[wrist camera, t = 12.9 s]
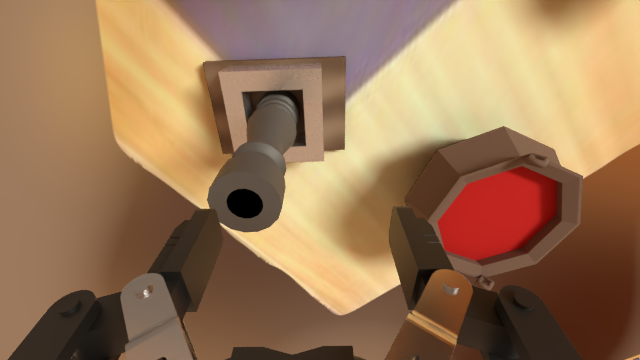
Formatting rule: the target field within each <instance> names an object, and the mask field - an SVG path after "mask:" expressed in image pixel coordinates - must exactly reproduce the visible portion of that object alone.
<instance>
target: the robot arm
mask: <svg viewBox="0 0 640 360" xmlns="http://www.w3.org/2000/svg"><path fill="white" fill-rule="evenodd" d="M222 243H223V235H222V231H221V227H220V223H219V219H218V215H217V212H216V210H215V209H197V210H196V211H195V213H194V214H193V216H192V218H191V219H190V220H185V221H184V222H182V223H181V224H180V225H179V226H178V227H176V228H175V230H174V232H173V233H172V235H171V236H170V239H168V241H167V243H166V244H165V247H163V249H162V251H161V252H160V254H159V255H158V257H157V258H156V260H155V262H154V263H153V265H152V267H151V268H150V270H149V271H148V273H147V274H144V275H142V276H139V277H137V278H135V279H134V280H132V281H131V282H129V283H128V284H127V286H125V288H124V289H123V291H122V292H118V293H115V294H111V295H107V296H104V297H100V298H96V296H95V295H94V294H93V292H91V291H89V290H80V291H76V292H73V293H70V294H68V295H66V296H64V297H62V298H61V299H59V300H58V301H57V302H55V303H54V304H53V305H52V306H51V307H50V308H49V309H48V310H47V312H46V313H45V314H44V315H43V317H42V318H41V319H40V320H39V322H38V323H37V324H36V325H35V327H34V328H33V329H32V330H31V331H30V333H29V334H28V335H27V336H26V338H25V339H24V340H23V341H22V343H21V344H20V345H19V346H18V348H17V349H16V350H15V351H14V352H13V354H12V355H11V356H10V357H9V359H8V360H70V359H71V360H118V359H119V357H120V355H121V353H124V352H126V357H127V360H198V358H197V356H196V353H195V351H194V348H193V345H192V343H191V340H190V338H189V335H188V332H187V330H186V327H185V325H184V322H183V318H184V315H185V313H186V312H196V311H197V309H198V307H199V304H200V302H201V299H202V297H203V294H204V291H205V289H206V286H207V284H208V281H209V279H210V276H211V274H212V271H213V268H214V265H215V263H216V261H217V258H218V256H219V253H220V250H221V248H222ZM389 244H390V248H391V251H392V255H393V258H394V262H395V265H396V268H397V272H398V275H399V279H400V282H401V286H402V289H403V293H404V296H405V299H406V303H407V306H408V309H409V310H413V312H412V313H409V314H408V316H407V318H406V319H405V321H404V323H403V325H402V327H401V329H400V331H399V333H398V334H397V336H396V338H395V340H394V342H393V344H392V346H391V348H390V350H389V352H388V353H387V355H386V357H385V359H384V360H450V359H451V356H452V354H453V351H454V348H455V345H456V343H457V344H461V345H464V346H467V347H470V348H474V349H477V350H479V351H480V353H481V356H482V358H483V360H582V358H581V357H580V355H579V354H578V353H577V351H576V349H575V348H574V347H573V345H572V344H571V342H570V341H569V339H568V338H567V336H566V335H565V333H564V332H563V330H562V329H561V327H560V326H559V324H558V323H557V322H556V320H555V318H554V317H553V315H552V314H551V313H550V311H549V310H548V308H547V307H546V305H545V304H544V303H543V301H542V300H541V299H540V298H539V297H538V296H537V295H536V294H534V293H533V292H531V291H529V290H527V289H525V288H523V287H520V286H514V285H508V286H505V287H503V288H502V289H501V290H500V291H499V293H496V292H492V291H488V290H484V289H480V288H477V287H474V286H472V285H471V284H470V282H469V281H468V280H467V279H466V278H465V277H464V276H463V275H461V274H460V273H458V272H456V271H455V270H454V268H453V266H452V264H451V262H450V260H449V259H448V257H447V255H446V253H445V251H444V249H443V247H442V245H441V243H440V241H439V239H438V237H437V236H436V233H435V231H434V229H433V227H432V225H431V224H430V223H429V222H428V221H426V220H425V219H424V218H416V216H415V214H414V212H413V209H412V208H411V207H410V206H406V207H393V210H392V216H391V222H390V229H389ZM72 356H73V357H72ZM71 357H72V358H71ZM225 360H365V359H363V358H361V357H358V356H354V355H353V347H352V346H322V347H319V348H316V349H312V350H308V351H305V352H301V353H298V354H294V355H291V354H287V353H283V352H279V351H276V350H272V349H268V348H265V347H234V348H233V352H232V356H231V358H228V359H225Z"/></svg>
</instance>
